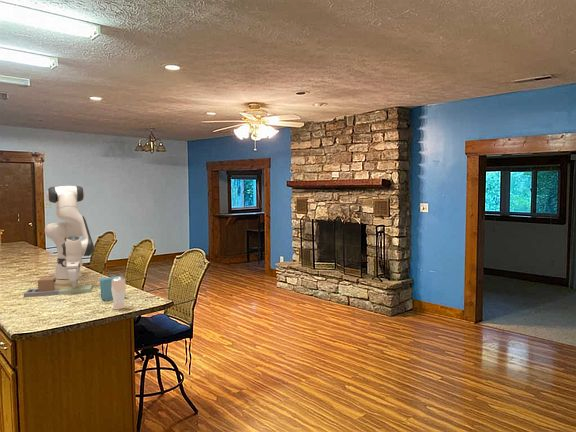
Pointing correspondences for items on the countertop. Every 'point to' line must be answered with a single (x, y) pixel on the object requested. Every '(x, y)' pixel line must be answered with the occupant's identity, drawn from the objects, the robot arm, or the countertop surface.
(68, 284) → the birch bar
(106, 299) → the data package
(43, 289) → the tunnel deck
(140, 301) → the countertop surface
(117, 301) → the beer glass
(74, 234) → the robot arm
